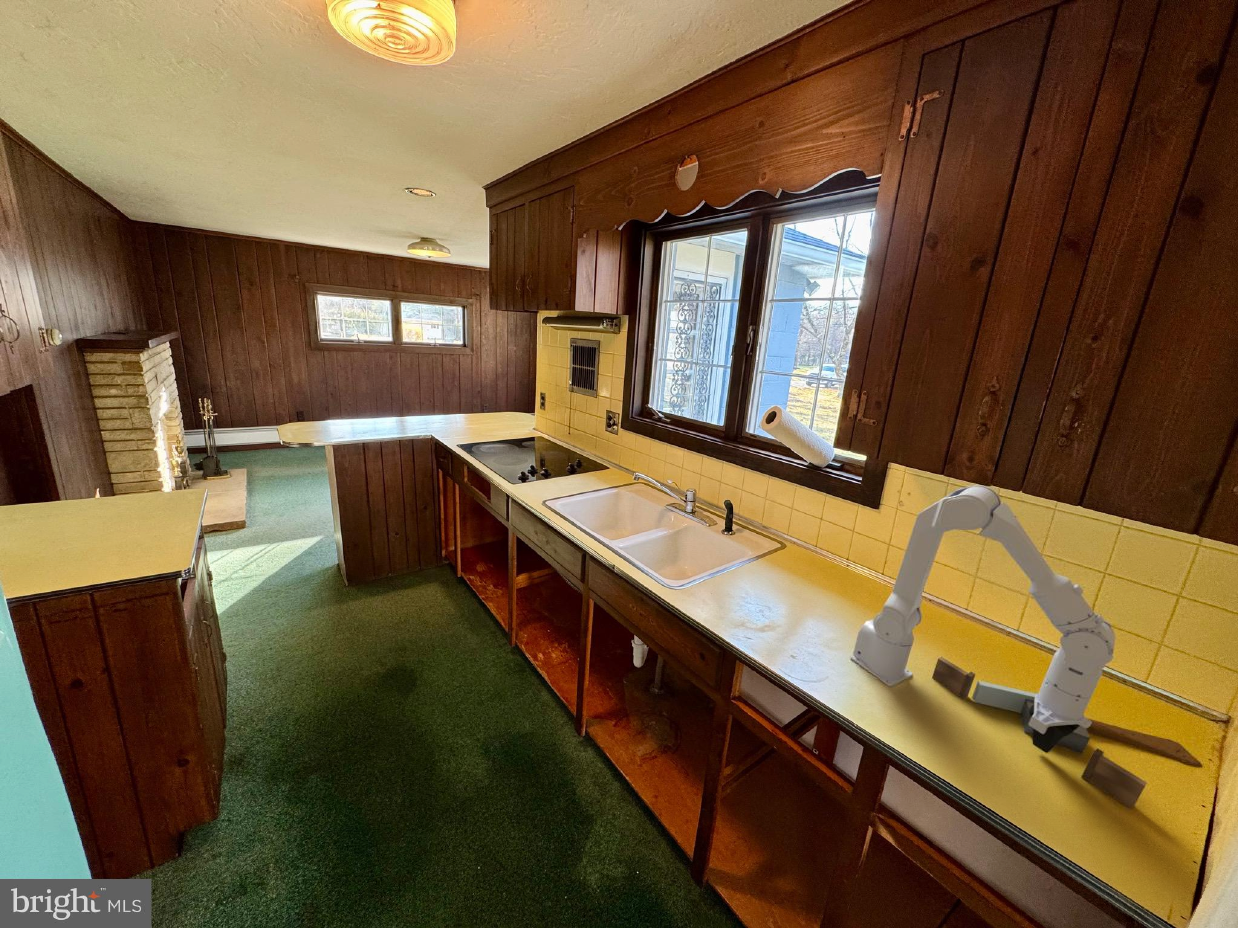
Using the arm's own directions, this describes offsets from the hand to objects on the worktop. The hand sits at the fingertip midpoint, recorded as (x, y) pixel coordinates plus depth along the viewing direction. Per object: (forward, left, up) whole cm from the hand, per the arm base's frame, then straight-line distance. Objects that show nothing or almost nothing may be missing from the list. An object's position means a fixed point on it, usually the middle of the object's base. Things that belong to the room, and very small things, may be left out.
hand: (1041, 747), depth 81 cm
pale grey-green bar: (-7, +8, -1) cm, 10 cm away
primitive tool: (+6, +20, -2) cm, 21 cm away
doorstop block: (-1, +7, -2) cm, 8 cm away
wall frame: (-4, +2, -1) cm, 5 cm away
